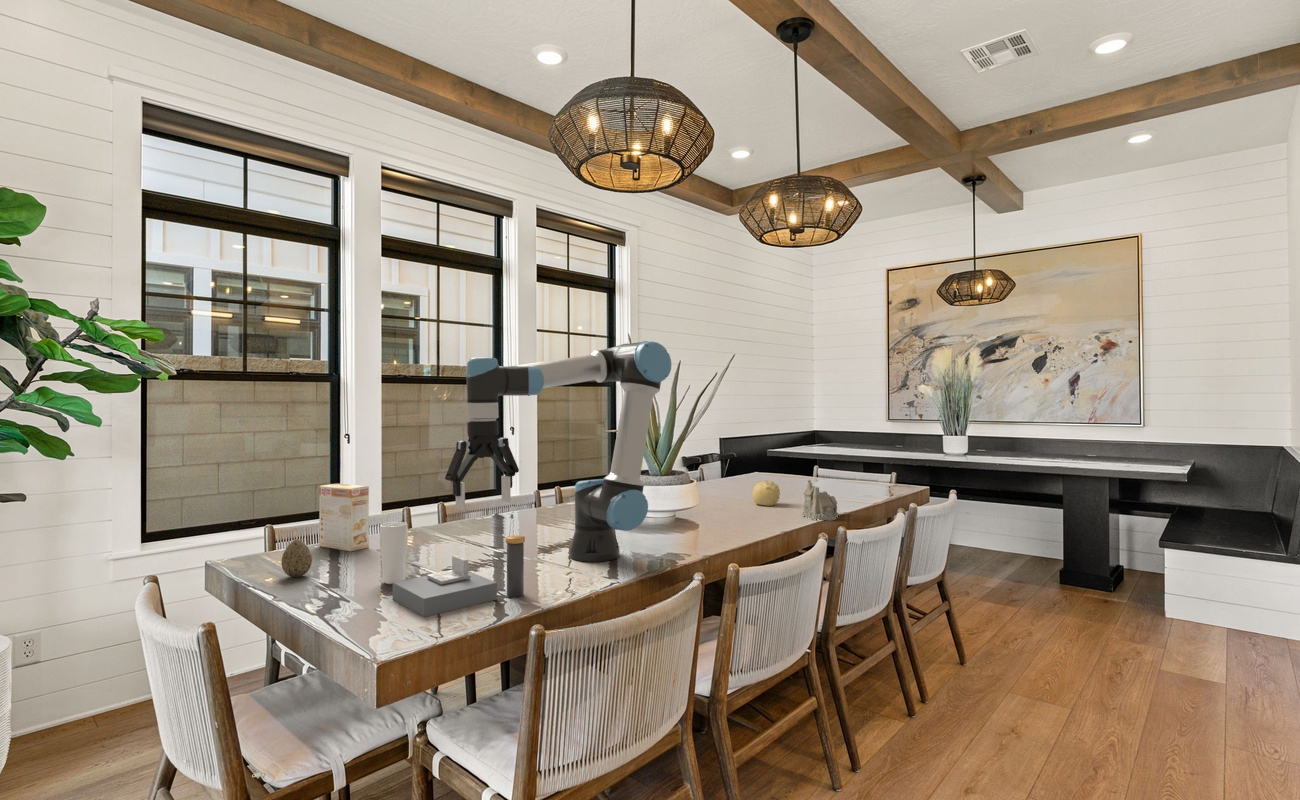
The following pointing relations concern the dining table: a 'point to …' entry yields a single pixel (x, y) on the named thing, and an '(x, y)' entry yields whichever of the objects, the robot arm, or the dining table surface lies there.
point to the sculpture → (766, 493)
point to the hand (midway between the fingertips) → (483, 505)
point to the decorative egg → (296, 559)
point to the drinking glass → (393, 550)
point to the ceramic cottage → (819, 504)
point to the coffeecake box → (344, 516)
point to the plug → (515, 566)
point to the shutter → (452, 572)
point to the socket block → (443, 594)
